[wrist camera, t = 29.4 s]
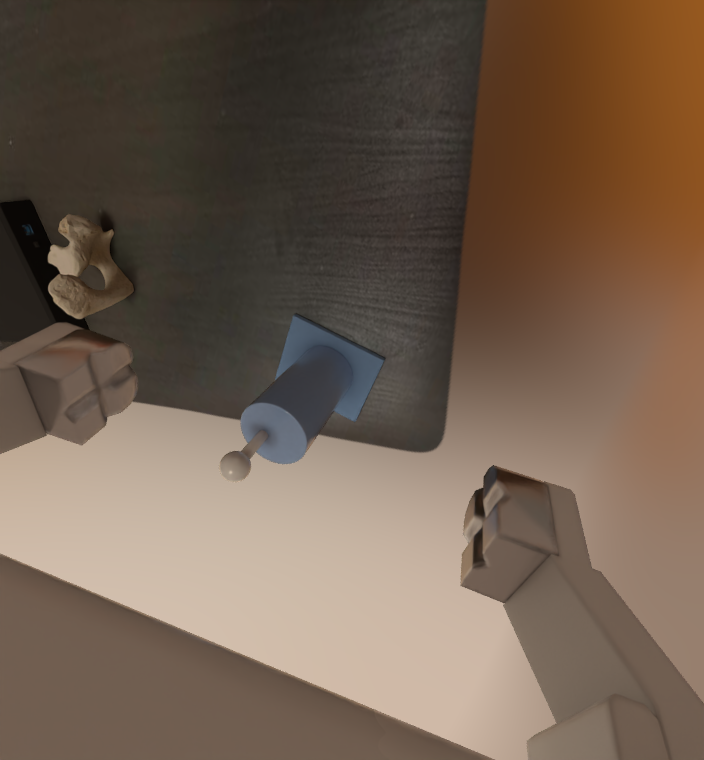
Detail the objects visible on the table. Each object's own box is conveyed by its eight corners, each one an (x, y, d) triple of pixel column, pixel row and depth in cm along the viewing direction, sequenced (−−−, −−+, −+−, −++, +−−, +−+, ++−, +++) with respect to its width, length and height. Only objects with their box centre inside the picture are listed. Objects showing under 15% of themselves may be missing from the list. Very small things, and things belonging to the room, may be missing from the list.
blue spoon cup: (346, 343, 35) (259, 443, 23) (358, 397, 37) (285, 513, 25) (292, 347, 37) (187, 441, 25) (307, 397, 39) (217, 505, 27)
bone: (42, 205, 37) (-16, 231, 29) (116, 203, 38) (80, 227, 30) (77, 292, 42) (35, 335, 34) (142, 288, 43) (117, 328, 35)
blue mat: (385, 358, 35) (384, 360, 34) (356, 419, 39) (354, 422, 38) (295, 313, 35) (293, 315, 35) (277, 378, 40) (274, 380, 39)
